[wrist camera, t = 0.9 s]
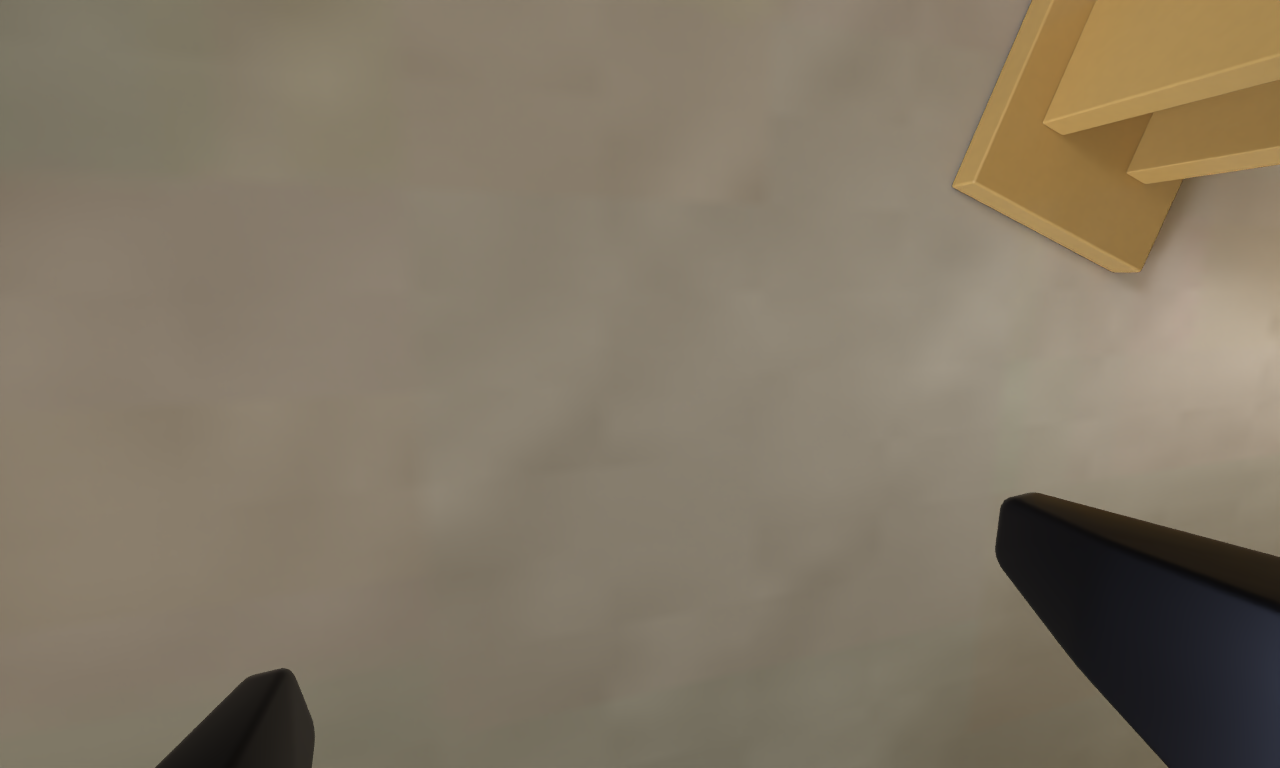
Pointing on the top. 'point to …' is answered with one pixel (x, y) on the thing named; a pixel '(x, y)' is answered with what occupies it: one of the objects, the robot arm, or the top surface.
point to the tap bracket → (1124, 116)
